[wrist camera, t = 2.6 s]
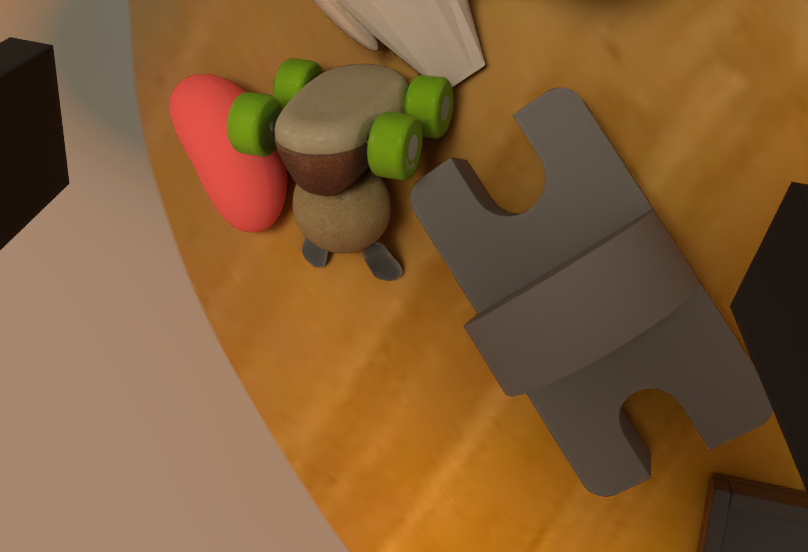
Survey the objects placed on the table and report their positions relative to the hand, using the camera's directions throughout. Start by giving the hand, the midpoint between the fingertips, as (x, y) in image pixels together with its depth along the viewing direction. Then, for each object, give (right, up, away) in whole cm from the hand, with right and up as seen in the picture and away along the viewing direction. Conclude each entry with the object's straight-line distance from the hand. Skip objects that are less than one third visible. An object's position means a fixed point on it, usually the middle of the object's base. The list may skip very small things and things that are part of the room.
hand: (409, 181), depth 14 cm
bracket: (+9, -2, +26) cm, 27 cm away
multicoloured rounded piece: (-3, +8, +23) cm, 24 cm away
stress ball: (-13, +5, +28) cm, 31 cm away
